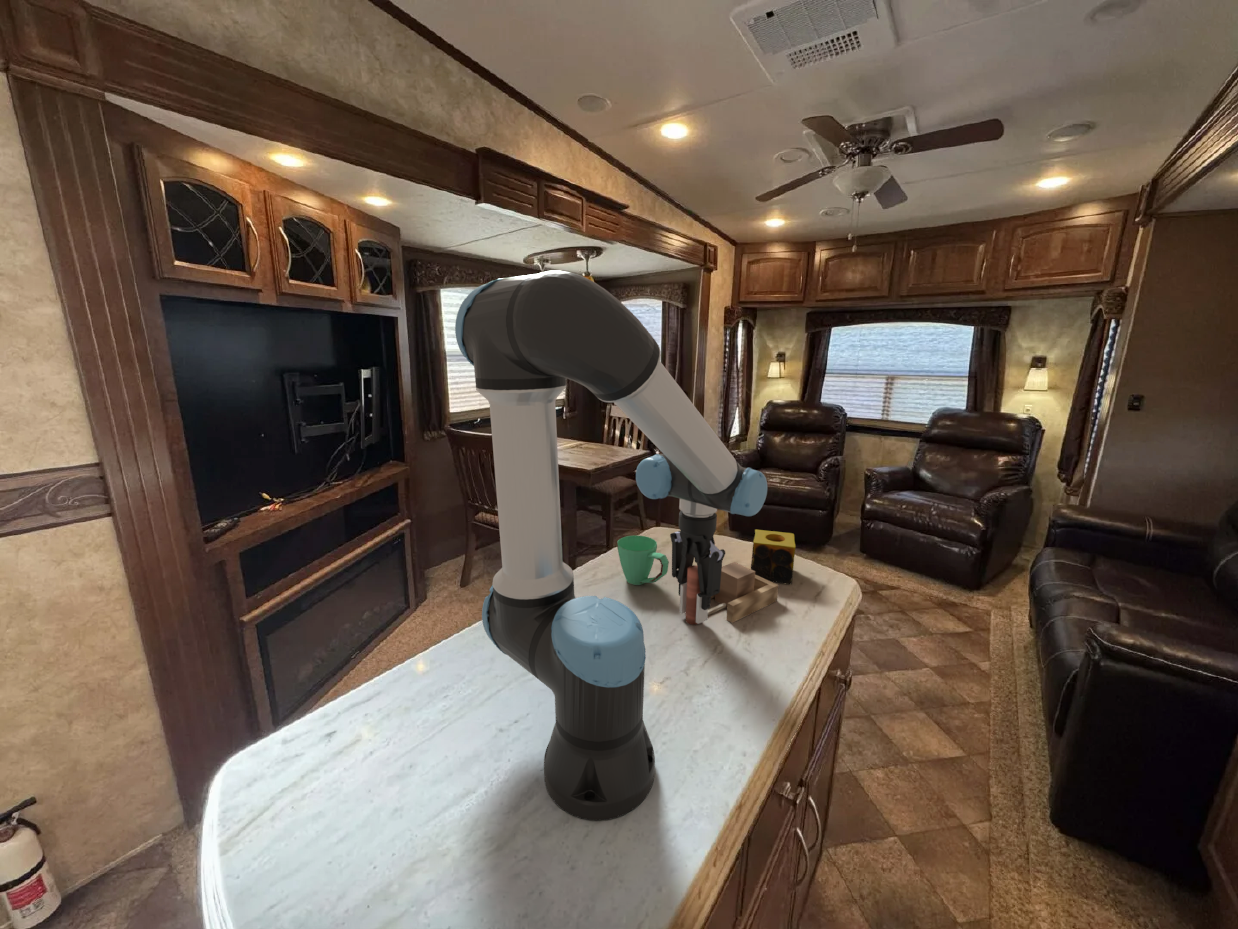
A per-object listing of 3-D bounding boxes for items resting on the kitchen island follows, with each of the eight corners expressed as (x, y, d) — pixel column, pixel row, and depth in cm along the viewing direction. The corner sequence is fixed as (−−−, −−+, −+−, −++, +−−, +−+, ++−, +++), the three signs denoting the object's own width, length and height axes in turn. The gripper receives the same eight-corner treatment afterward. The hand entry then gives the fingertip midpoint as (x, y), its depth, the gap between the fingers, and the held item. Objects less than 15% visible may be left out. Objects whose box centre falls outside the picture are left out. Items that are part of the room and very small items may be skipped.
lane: (731, 623, 102) (733, 606, 101) (694, 601, 111) (695, 585, 110) (777, 601, 111) (778, 585, 110) (739, 582, 120) (740, 567, 119)
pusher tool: (697, 629, 100) (700, 576, 97) (677, 616, 104) (679, 565, 101) (752, 603, 110) (756, 554, 107) (732, 593, 114) (735, 545, 112)
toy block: (749, 579, 121) (752, 542, 119) (750, 563, 131) (753, 528, 128) (792, 585, 118) (796, 547, 116) (790, 568, 128) (794, 532, 125)
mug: (608, 580, 121) (608, 542, 118) (635, 568, 127) (636, 532, 125) (652, 601, 110) (653, 561, 108) (679, 587, 117) (681, 549, 115)
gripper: (744, 519, 92) (736, 628, 98) (681, 497, 106) (678, 594, 111) (717, 528, 88) (711, 641, 94) (655, 503, 102) (653, 604, 107)
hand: (693, 615), depth 103 cm, fingers open, 4 cm apart
